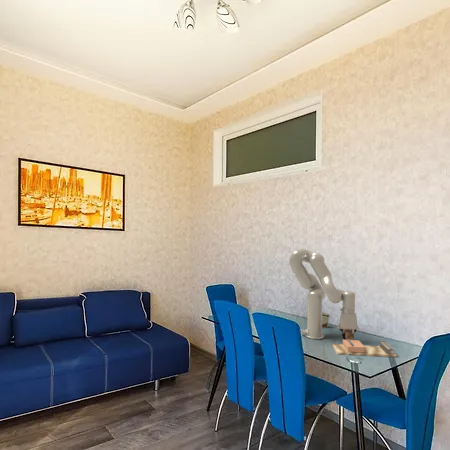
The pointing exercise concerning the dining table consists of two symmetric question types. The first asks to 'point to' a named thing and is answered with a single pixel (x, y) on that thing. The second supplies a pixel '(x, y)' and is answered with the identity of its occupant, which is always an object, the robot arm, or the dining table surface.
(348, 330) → the walnut block
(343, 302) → the robot arm
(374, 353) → the vise
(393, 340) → the dining table surface
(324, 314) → the food container
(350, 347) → the block
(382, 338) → the dining table surface
